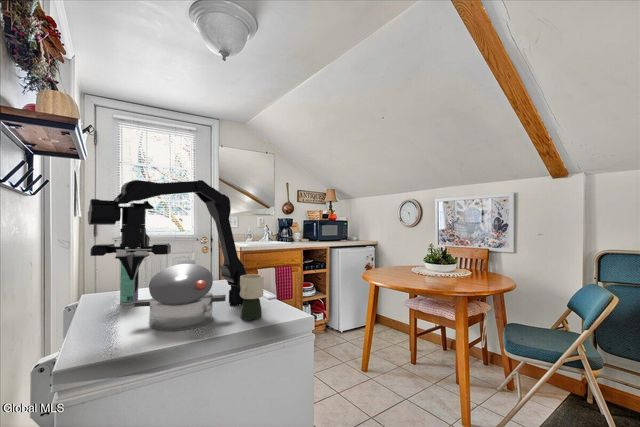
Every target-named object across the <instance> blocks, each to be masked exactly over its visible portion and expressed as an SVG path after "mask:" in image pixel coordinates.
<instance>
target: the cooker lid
mask: <svg viewBox="0 0 640 427" xmlns="http://www.w3.org/2000/svg"><path fill="white" fill-rule="evenodd" d="M213 281H214V280H213V275H212V273H211V271H210V269H208V268H206V267H205V266H202V265H201V264H200V265H199V264H196V260H194V259H191V260H190V259H188V260H186V259H185V260H183V259H182V260H177V264H175V265H171V266H168V267H166V268H162V270H160V271H159V272H157V273H156V274H155V275H154V276H152V278H151V279H150V281H149V283H148V291H149V295H150V297H151V298H153V299H155V300H156V301H158V302H160V303H163V304H167V305H182V304H187V303H191V302H194V301H196V300H198V299H200V298H202V297H203V296H205V295H206V294H207V293H208V292H210V290H211V289H212V288H213V287H212V286H213V284H214V283H213Z"/></svg>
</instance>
